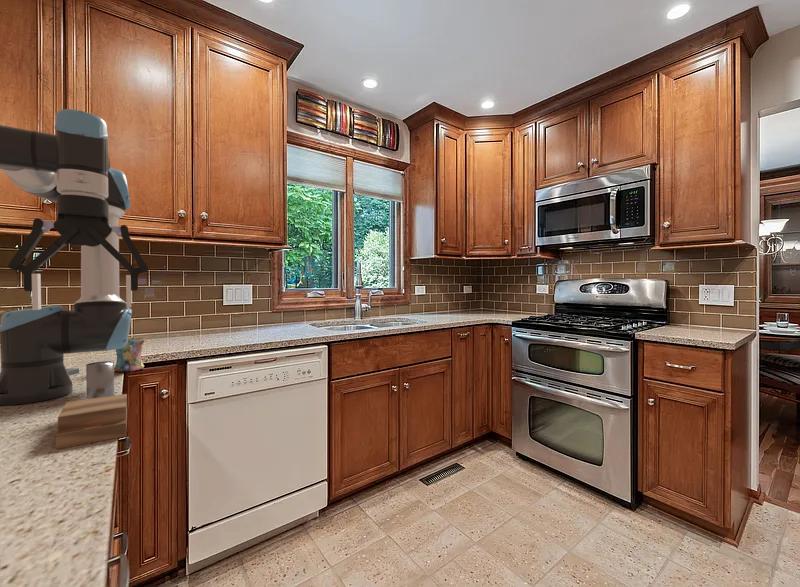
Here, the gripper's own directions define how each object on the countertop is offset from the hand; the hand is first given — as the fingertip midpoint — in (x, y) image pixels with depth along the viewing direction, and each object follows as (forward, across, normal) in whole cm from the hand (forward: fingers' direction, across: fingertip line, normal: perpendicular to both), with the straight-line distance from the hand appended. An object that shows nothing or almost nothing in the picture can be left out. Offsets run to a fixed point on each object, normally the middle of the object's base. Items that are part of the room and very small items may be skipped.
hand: (85, 308), depth 72 cm
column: (+25, +1, +16) cm, 30 cm away
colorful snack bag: (+26, +6, +62) cm, 67 cm away
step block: (+25, +1, +2) cm, 25 cm away
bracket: (+26, -12, +65) cm, 71 cm away
